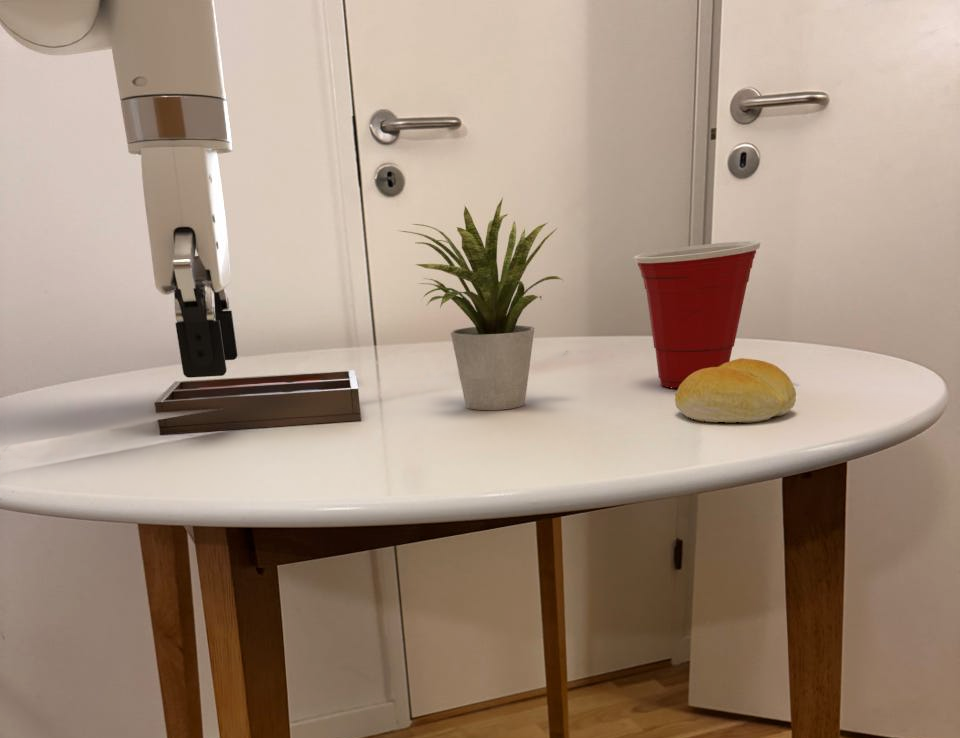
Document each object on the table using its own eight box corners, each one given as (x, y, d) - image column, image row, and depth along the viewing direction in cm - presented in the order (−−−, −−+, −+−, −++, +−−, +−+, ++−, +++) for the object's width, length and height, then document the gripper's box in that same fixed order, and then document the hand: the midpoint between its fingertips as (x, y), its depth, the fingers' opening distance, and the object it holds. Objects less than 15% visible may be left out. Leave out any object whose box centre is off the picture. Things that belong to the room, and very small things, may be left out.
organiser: (159, 435, 75) (153, 402, 74) (179, 410, 85) (174, 381, 84) (361, 420, 77) (358, 388, 76) (357, 398, 87) (354, 369, 86)
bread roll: (655, 416, 73) (656, 364, 72) (727, 400, 78) (730, 351, 77) (741, 430, 67) (745, 373, 66) (813, 411, 72) (819, 358, 71)
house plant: (412, 392, 89) (398, 203, 82) (556, 385, 89) (555, 196, 82) (407, 422, 76) (390, 200, 69) (576, 413, 76) (576, 191, 69)
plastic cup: (615, 380, 90) (617, 246, 85) (720, 372, 92) (728, 240, 87) (654, 399, 81) (658, 248, 76) (771, 389, 82) (783, 241, 77)
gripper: (146, 142, 77) (180, 357, 84) (100, 119, 61) (147, 386, 68) (239, 139, 78) (265, 352, 85) (217, 116, 62) (251, 380, 69)
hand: (212, 367), depth 76 cm, fingers open, 9 cm apart
